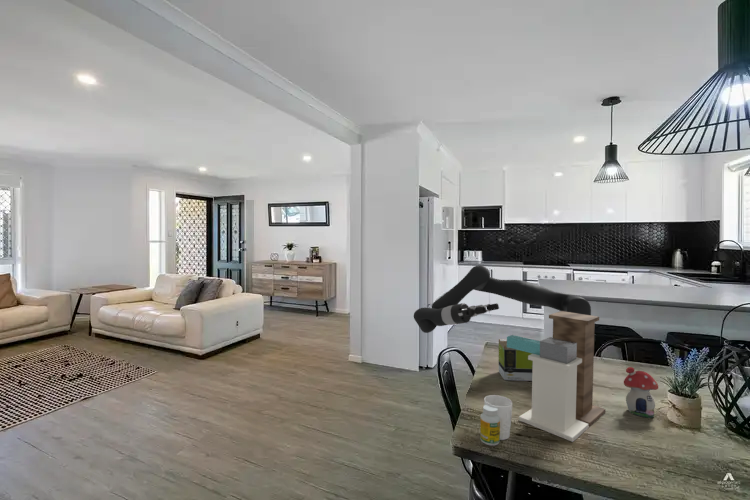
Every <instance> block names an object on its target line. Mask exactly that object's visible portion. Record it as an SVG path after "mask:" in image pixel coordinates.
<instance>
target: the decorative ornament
mask: <svg viewBox="0 0 750 500" xmlns="http://www.w3.org/2000/svg"><path fill="white" fill-rule="evenodd" d="M625 369H626V370H625V372H626V373H627V374H628V375H626V377H625V378H624V380H623V385H624V387H627V388H629V389H630V390H629V391H628V392H627V395H626V397H625V403H626V406H627V410H628V411H629V413H630V414H631V415H635V416H637V417H641V418H647V419H649V418H650V419H651V418H654V417H655V407H656V401H655V398H654V397H653V395H652V394H651V393H650V391H656V390H659V385H658V383H657V381H656V379H655V378H654V377H653V376H652V375H650V373H648V372H646V371H642V370H635V368H634V367H632V366H629V367H627V368H625Z"/></svg>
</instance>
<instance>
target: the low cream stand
mask: <svg viewBox="0 0 750 500" xmlns="http://www.w3.org/2000/svg"><path fill="white" fill-rule="evenodd" d="M528 360H532V361H533V370H532V381H531V383H532V384H531V385H532V386H531V408H530V409H529V410H527V411H526V412H524V413H523V414H521V415H519V416H518V420H519V422H522V423H525V424H527V425H530V426H532V427H535V428H537V429H540V430H543V432H548V433H549V434H552V435H555V436H557V437H560V438H562V439H565V440H567V441H569V442H572V443H573V442H574V441H576V440H577V439H578V438H579V437H580V436H582V434H584V433H585V432H586V431H587V430H588V429H589V424H588V423H585V422H582V421H579V420H576V387H577V365H579V364H580V363H582V359H581V358H577V357H576V359H575V360H574V361H572V362H570V363H568V364H565V363H561V362H557V361H553V360H549V359H545V358H541V357H540V355H537V354H531V355H529V356H528Z"/></svg>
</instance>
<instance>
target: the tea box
mask: <svg viewBox="0 0 750 500" xmlns="http://www.w3.org/2000/svg"><path fill="white" fill-rule="evenodd" d="M531 354H533V353H529V352H525V351H521V350H517V349H513V348H509V347H507V338H498V372H499V374H500V375H501V377H502V379H503V380H504V381H526V382H529V381H530V382H532V370H533V361H532V360H528V356H529V355H531Z"/></svg>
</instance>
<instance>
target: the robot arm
mask: <svg viewBox="0 0 750 500" xmlns="http://www.w3.org/2000/svg"><path fill="white" fill-rule="evenodd" d="M474 290H475V291H478V292H482V293H487V294H488V293H489V294H494V295H498V296H501V297H503V298H506V299H507V298H508V299H511V300H514V301H517V302H520V303H524V304H527V305H532V306H538V307H539V306H540V307H547V308H551V309H554V310H557V311H558V312H560V311H565V312H571V313H578V314H584V315H591V316H592V307H591V304H590V302H589V301H588V300H587V299H585V298H584V297H583V296H580V295H577V294H570V293H566V292H565V293H564V292H563V293H562V292H558V291H554V290H551V289H549V288H546V287H544V286H541V285H538V284H535V283H532V282H529V281H525V280H521V279H498V278H494V277H491V272H490V270H489V269H488V268H487V267H486V266H484V265H478V264H477V265H475V266H473V267H472V268H471V269H470V270H469V271H468V272H467V274H466V275H465V276H464V277H463V278H462V279H461V280H460V281H458V282H457V284H455V285H454V286H453V287H451V288H450V289H449V290H448V291H447V292H445V293H444V294H442V295H441V296H440V297H438V298H437V299H436V300H435V301H434V302H432V304H431V307H420V308H418V309H416V310H415V311H414V313H413V319H414V321H415V322H416V324H417V325H418V327H419V329H420V331H422V333H424V334H425V333H426V334H428V333H432V332H433V331H434V330H435V329H436V327H444V326H455V325H460V324H467V323H469V322H470V321H471V318H473V317H477V316H479V315H484V314H486V313H487V312H492V311H495V310H499V309H500V307H499V303H498V302H497V303H488V304H484V305H483V304H479V305H471V306H469V305H468V304H467V303H465V302H462V301H463V299H464V298H465V297H467V295H468V294H470V293H471V292H472V291H474ZM461 302H462V303H461Z"/></svg>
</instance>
